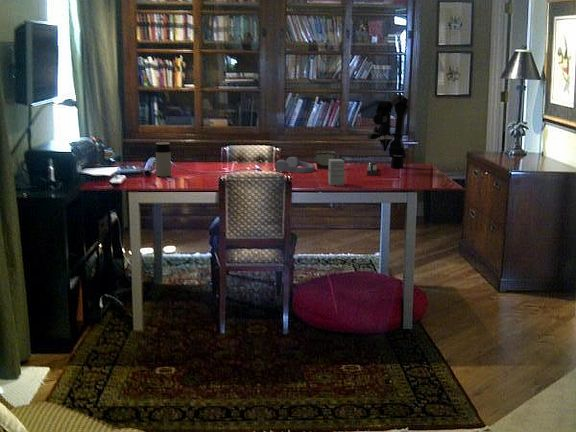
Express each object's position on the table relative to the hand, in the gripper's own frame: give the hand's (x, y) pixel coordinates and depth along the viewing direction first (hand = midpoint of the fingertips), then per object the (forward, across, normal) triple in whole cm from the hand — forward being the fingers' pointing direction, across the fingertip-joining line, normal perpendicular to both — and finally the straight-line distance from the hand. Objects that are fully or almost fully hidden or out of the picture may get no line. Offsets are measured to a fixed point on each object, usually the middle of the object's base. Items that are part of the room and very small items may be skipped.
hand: (384, 151), depth 447 cm
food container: (+12, +28, -22) cm, 37 cm away
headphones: (+12, +46, -18) cm, 51 cm away
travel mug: (+12, +122, -12) cm, 123 cm away
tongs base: (+12, +6, -3) cm, 14 cm away
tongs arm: (+11, +6, 0) cm, 13 cm away
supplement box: (+12, +39, +36) cm, 54 cm away
